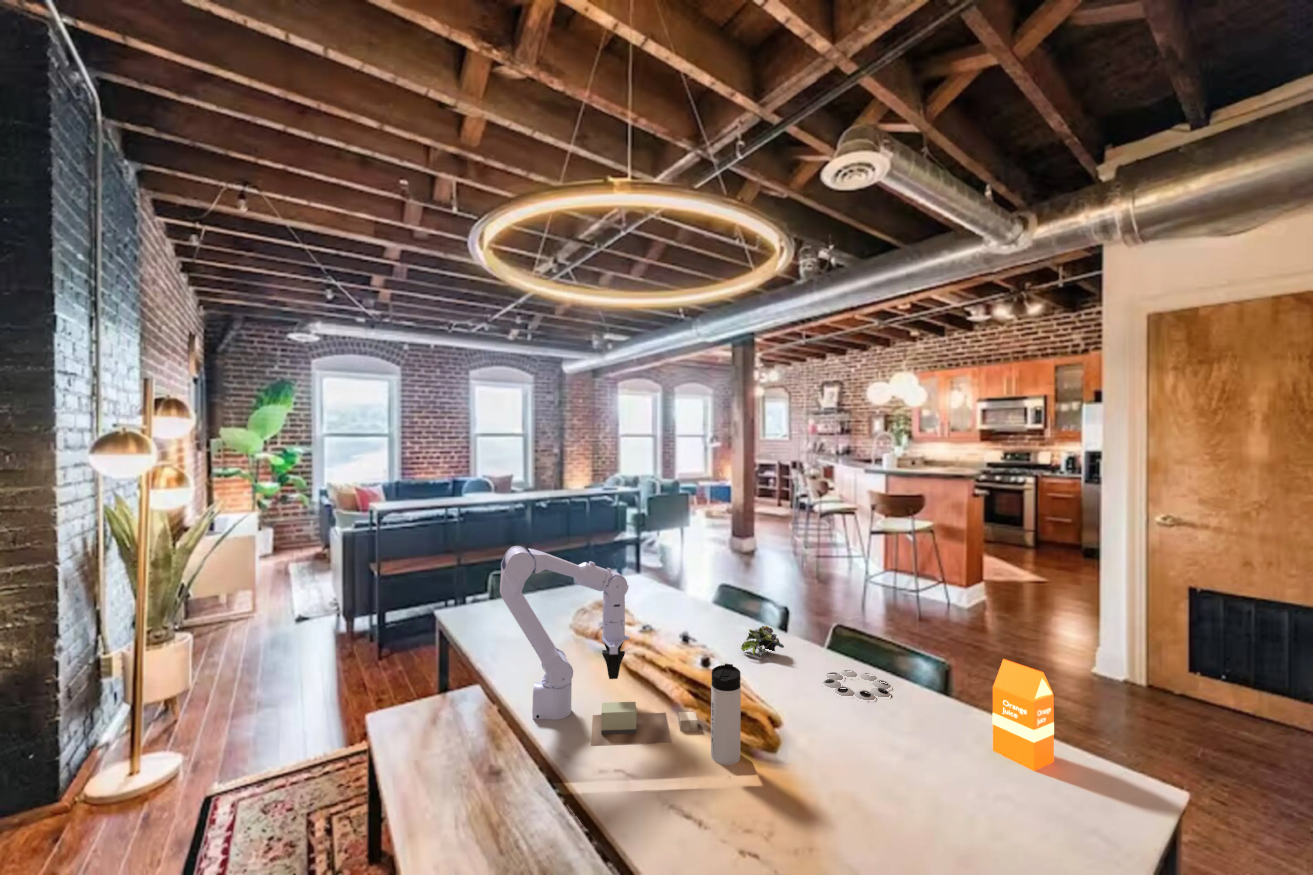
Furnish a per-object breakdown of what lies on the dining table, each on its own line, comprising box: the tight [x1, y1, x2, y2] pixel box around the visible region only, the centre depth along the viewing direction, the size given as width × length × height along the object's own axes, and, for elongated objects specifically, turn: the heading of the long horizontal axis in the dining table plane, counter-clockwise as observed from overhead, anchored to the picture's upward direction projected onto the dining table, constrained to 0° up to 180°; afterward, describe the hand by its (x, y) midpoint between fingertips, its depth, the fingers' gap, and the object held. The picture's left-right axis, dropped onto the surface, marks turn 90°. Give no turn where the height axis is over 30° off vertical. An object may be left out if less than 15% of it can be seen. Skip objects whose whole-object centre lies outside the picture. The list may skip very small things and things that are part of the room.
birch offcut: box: [677, 711, 698, 732], centre depth 132 cm, size 4×4×4 cm
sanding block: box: [601, 701, 637, 735], centre depth 130 cm, size 8×5×5 cm, turn 95°
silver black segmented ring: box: [822, 669, 892, 700], centre depth 158 cm, size 20×20×2 cm
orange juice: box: [992, 658, 1055, 772], centre depth 123 cm, size 8×9×20 cm
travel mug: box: [710, 663, 742, 766], centre depth 119 cm, size 6×7×20 cm
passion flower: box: [740, 625, 785, 657], centre depth 180 cm, size 11×11×12 cm
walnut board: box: [590, 712, 672, 747], centre depth 131 cm, size 18×14×2 cm
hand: (613, 672), depth 143 cm, fingers open, 7 cm apart
